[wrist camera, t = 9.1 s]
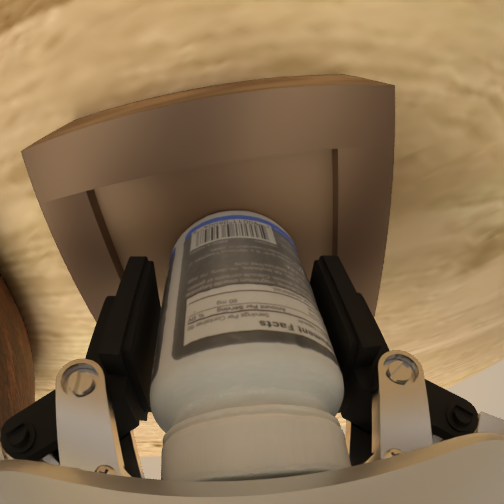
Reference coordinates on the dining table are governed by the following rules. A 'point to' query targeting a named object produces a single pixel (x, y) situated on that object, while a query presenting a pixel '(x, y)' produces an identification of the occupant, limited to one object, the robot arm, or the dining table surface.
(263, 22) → the dining table surface
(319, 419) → the pill bottle
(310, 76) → the walnut tray
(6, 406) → the wooden bowl
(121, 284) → the robot arm
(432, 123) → the dining table surface
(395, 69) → the dining table surface
